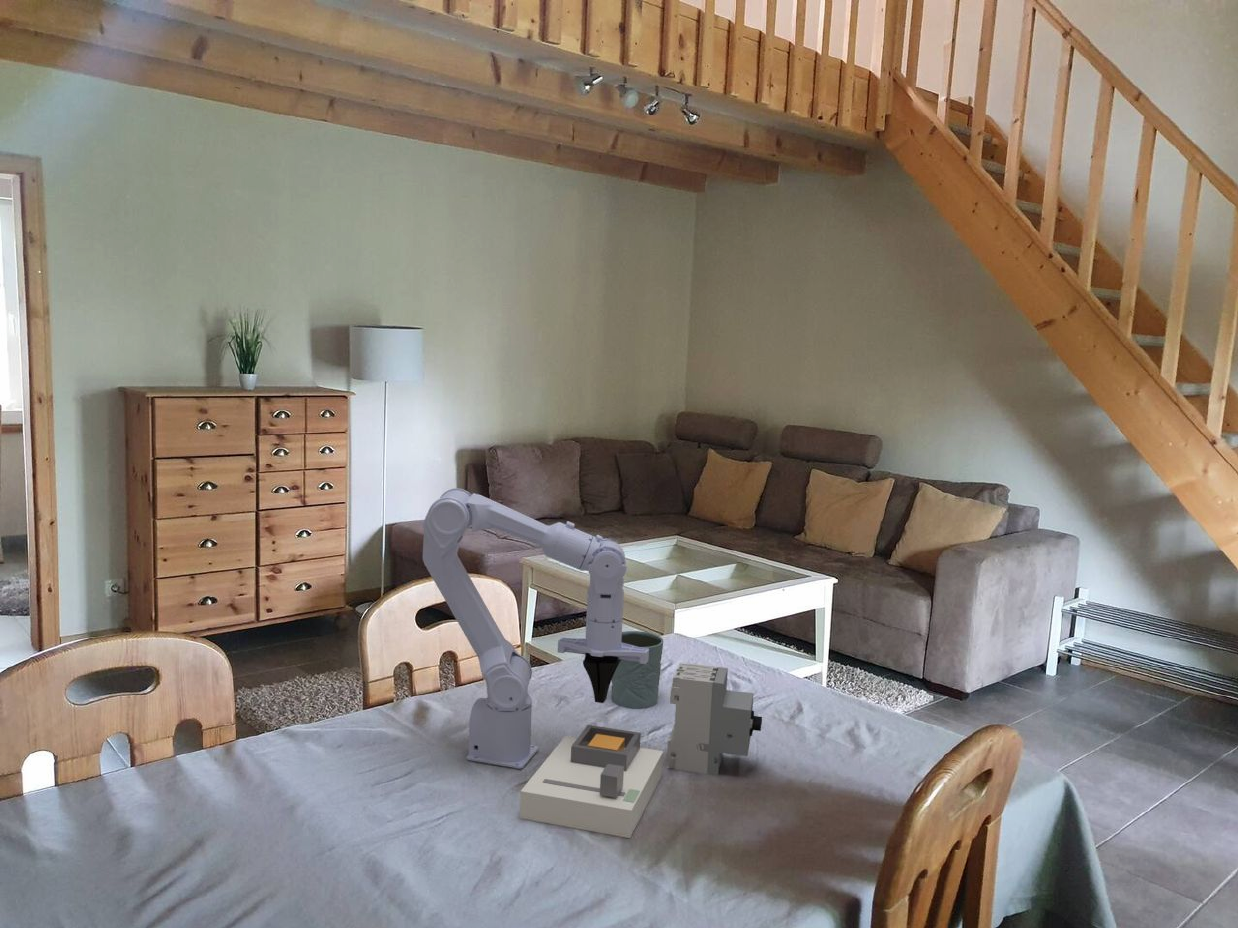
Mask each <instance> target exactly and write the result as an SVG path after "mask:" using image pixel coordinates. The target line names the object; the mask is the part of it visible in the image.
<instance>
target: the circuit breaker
mask: <svg viewBox="0 0 1238 928" xmlns="http://www.w3.org/2000/svg"><path fill="white" fill-rule="evenodd" d="M728 669H729V668H728V667H721V666H715V665H714V666H713V665H704V664H696V663H688V662H686V663H682V662H679V663H678V666H677V668H676V670H675V673H674V675H673V678H672V684H671V688H670V697H669V698H670V700H669V703H670V704H671V705H675V714H674V724H673V727H672V729H671V733H670V734H669V737H668V740H667V753H666V769H667V770H668V769H669V770H670V769H674V770H676V771H682V772H689V773H690V772H691V773H698V774H705V775H714V776H718V775H719V771H720V768H721V763H722V759H723V758H722V757H723V754H727V755H735V756H744V757H748V755H749V749H750V744H751V738H752V736H753V731H757V732H758V731H759V732H760V731H762V724H763V723H762V722H763V716H758V715H755V711H754V709H753V708H754V693H753V692H748V691H747V692H746V691H738V690H729V689H727V687H728V686H727V685H728V675H729V674H728V672H729V670H728Z"/></svg>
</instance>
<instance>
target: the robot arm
mask: <svg viewBox="0 0 1238 928" xmlns="http://www.w3.org/2000/svg"><path fill="white" fill-rule="evenodd" d="M422 522H423V523H422V526H423V527H422V528H423V544H422V545H423V546H422V561H423V563H424V567H426V570H427V571H428V573H429V574H430V576H431V578H432V580H433V582H434V583H435V585H436V587H437V589H438V590H439V592H440V594H441V596H442V597H443V599H444V601H445V602H446V604H447V606H448V607H449V609H450V611H451V613H452V615H453V616H454V618H455V620H456V621H457V624H458V625H459V627H460V628H461V631H462V632H463V634H464V636H465V637H466V640H467V641H468V643H469V645H470V646H471V648H472V650H473V652H474V653H475V656H477V659H478V664H479V667H480V672H481V675H482V677H483V679H484V681H485V684H486V694H487V695H486V697H479V698H477V699H476V700H475V701H474V703H473V706H472V708H471V710H470V714H469V715H470V716H469V727H468V728H469V729H468V730H469V731H468V754H467V756H466V760H467V761H473V762H479V763H484V764H485V763H486V764H491V765H494V766H496V765H497V766H502V767H507V768H514V769H523V768H524V767H526V765H527V764H528V763H529V761H530V760H531V759H532V758H533V756H535V755H536V753H537V752H538V751H539V749H540V748H539V746H538V745H532V744H531V741H532V738H531V736H532V710H533V709H532V708H533V699H532V697H531V695H530V694H529V692H528V690H529V684H530V680H531V679H532V674H533V671H532V670H533V669H532V666H531V664H530V661H529V660H528V659H527V658H526V657H525V656H523V655H521V654H520V653H518V652H517V650H516V648H515V647H514V645H513V643H511V641H509V640H507V639H506V638H505V636H504V635H503V633H502V631H501V630H500V628H499V626H498V624H497V622H496V621H495V619H494V617H493V616H492V613H491V612H490V611H489V609H488V606H487V605H486V603H485V601H484V599H483V598H482V596H481V594H480V593H479V591H478V589H477V588H476V586H475V583H474V581H473V580H472V579H471V577H470V575H469V573H468V572H467V569H466V568H465V567H464V565H463V562H462V560H461V559H460V558H459V555H458V552H459V549H460V546H461V543H462V540H463V535H464V533H465V532H466V530H467V528H469V526H471V533H474V532H480V531H483V530H488V529H495V530H497V531H500V532H503V533H506V534H507V535H508V534H509V535H512V536H514V537H517V538H519V539H522V540H525V541H527V542H531V543H533V544H537V545H539V546H540V547H541V549H542V552H543V554H544V556H545V557H547V558H549V559H552V560H554V561H556V562H560V563H562V564H564V565H567V566H570V567H571V568H573V569H576V570H579V571H581V572H582V571H583V572H585V571H586V572H588V573H589V586H588V588H587V594H586V595H587V596H586V598H587V599H586V618H585V619H586V621H585V622H586V623H585V638H576V637H575V638H574V637H573V638H572V637H561V638H560V639H558V641H557V653H561V654H564V653H572V654H579V655H584V659H583V660H582V667H584V670H585V671H586V674H587V676H588V678H589V681H590V683H591V687H592V690H593V691H592V692H593V696H594V702H595V703H599V704H604V703H605V702H606V700H607V698H608V693H609V688H610V685H611V684H612V681H611V680H612V677H613V675H614V673H615V671H616V669H617V667H618V665H619V663H620V661H621V660H629V661H636V662H639V663H640V664H646V663H647V662H648V660H649V649H647V648H641V647H637V646H633V645H629V644H626V643H622V642H621V640H622V632H623V618H624V617H623V616H624V600H625V598H624V593H625V592H624V588H623V587H624V584H625V581H624V580H625V579H624V576H625V574H626V572H627V569H628V568H627V567H628V566H627V565H626V555H625V551H624V549H623V548H622V546H621V545H620V544H618V543H617V542H616V541H614V540H613V538H603V535H602V536H601V535H600V534H596V536H595V535H592V534H589V533H587V532H585V531H582V530H580V529H578V528H575V523H573V522H571V521H568V520H567V521H566V523H563V522H560V521H557V522H555V523H553V524H551V525H550V524H549V525H547V524H545V523H543V522H541V521H538V520H536V519H534V518H532V517H530V516H527V515H525V514H523V513H521V512H519V511H516V510H514V509H513V508H510V507H508V506H506V505H504V504H502V503H499V502H497V501H495V500H493V499H491V498H488V497H486V496H483V495H481V494H478V493H471V492H469V491H468V490H465V489H463V488H458V487H456V488H451V489H448V490H446V491H445V492H443V493H442V494H441V496H440V498H438V499H437V500H435V501H434V502H433V503H432V504H431V505H430V506H429V509H428V511H427V513H426V516H425V518H424V520H423V521H422Z"/></svg>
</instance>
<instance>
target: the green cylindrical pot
mask: <svg viewBox="0 0 1238 928" xmlns="http://www.w3.org/2000/svg"><path fill="white" fill-rule="evenodd" d="M621 642H622V643H626V644H629V645H633V646H637V647H641V648H647V649H649V660H648V662H647V663H646V664H640V663H639V662H636V661H629V660H621V661H620V663H619V665H618V667H617V669H616V671H615V673H614V675H613V677H612V680H611V699H612V702H613V703H614V704H615V705H617V706H619V707H620V708H621V707H622V708H627V709H634V710H635V709H636V710H638V709H641V710H642V709H647V708H652V707H653V706H655V705H656V704H657V702H658V700H659V699H658V698H659V687H660V679H661V668H662V667H661V666H662V663H661V662H662V655H663V647H664V639H663V637H661V636H660V635H658V634H655V633H652V632H649V631H641V630H639V631H638V630H626V631H625V630H624V631H622V640H621Z"/></svg>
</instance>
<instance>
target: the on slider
mask: <svg viewBox="0 0 1238 928" xmlns="http://www.w3.org/2000/svg"><path fill="white" fill-rule="evenodd" d="M623 776H624V766H619V765H613V764H607V766H606V767H605V769H604V770H603V772H602V773H601V777H600V795H603V796H609V797H615V798H616V797H617V796H618V794H619V792H620V791H621V789H622V787H623Z"/></svg>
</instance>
